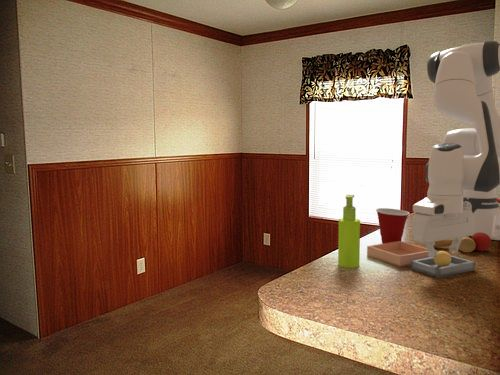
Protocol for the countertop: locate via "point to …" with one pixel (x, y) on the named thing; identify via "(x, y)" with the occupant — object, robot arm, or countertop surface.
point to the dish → (397, 253)
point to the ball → (442, 259)
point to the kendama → (469, 242)
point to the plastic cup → (391, 224)
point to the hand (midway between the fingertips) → (443, 254)
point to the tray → (434, 270)
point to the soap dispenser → (349, 236)
